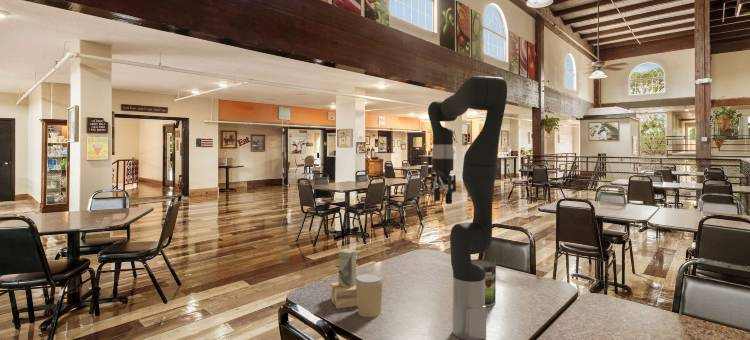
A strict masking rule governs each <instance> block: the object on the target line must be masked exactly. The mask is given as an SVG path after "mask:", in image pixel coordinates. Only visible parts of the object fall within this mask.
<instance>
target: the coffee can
mask: <svg viewBox="0 0 750 340" xmlns="http://www.w3.org/2000/svg"><path fill="white" fill-rule="evenodd" d="M471 263H474V264H477V265H480V266H482V267H483V268H484V270H485V306H486V308H487V307H492V306H495V305H496V288H497V287H496V286H497V285H496V284H497V283H496V278H497V277H496V276H497V273H496V272H497V263H496V262H494V261H491V260H487V259H471Z"/></svg>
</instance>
